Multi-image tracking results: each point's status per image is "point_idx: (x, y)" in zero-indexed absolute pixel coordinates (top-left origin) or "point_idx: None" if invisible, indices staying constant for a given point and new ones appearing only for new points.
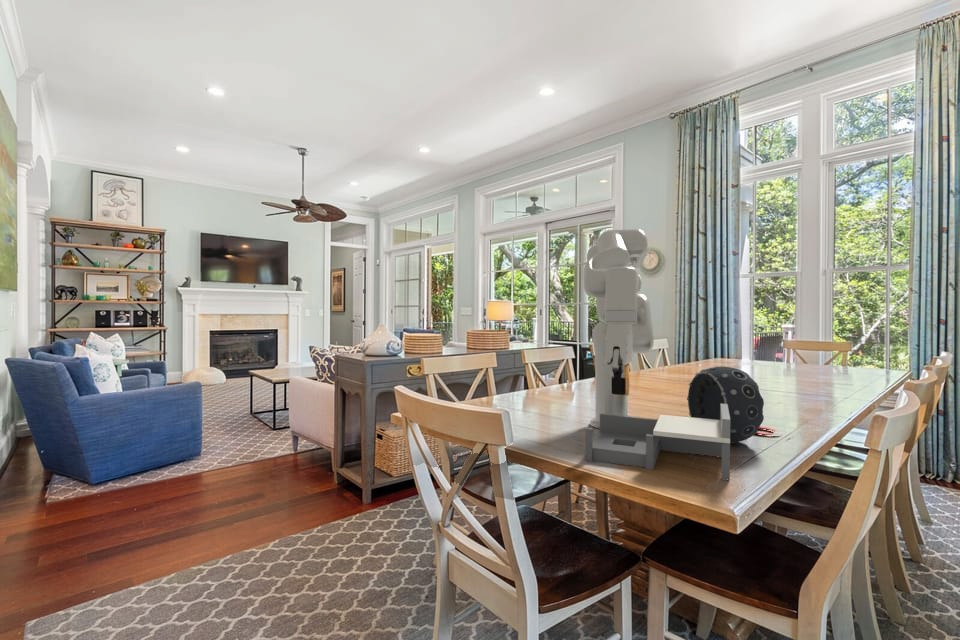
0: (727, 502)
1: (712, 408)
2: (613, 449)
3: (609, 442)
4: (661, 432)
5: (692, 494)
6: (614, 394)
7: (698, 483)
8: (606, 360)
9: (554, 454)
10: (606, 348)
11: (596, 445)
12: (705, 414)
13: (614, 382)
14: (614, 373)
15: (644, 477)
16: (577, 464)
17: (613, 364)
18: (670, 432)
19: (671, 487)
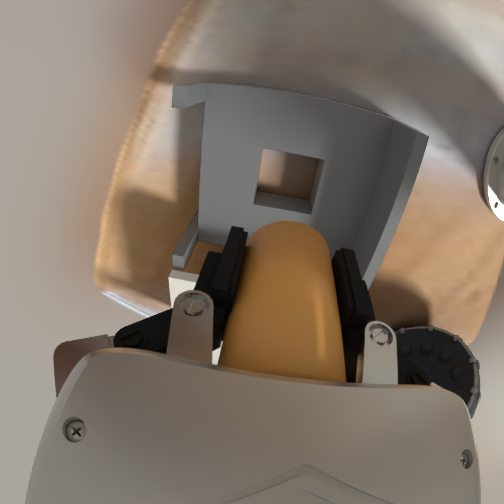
0: (120, 293)
1: (429, 376)
2: (209, 155)
3: (276, 142)
4: (170, 289)
5: (120, 264)
6: (254, 233)
7: (165, 279)
8: (72, 372)
9: (234, 2)
10: (30, 480)
11: (231, 108)
12: (436, 357)
13: (197, 280)
14: (140, 325)
15: (151, 207)
16: (172, 69)
17: (57, 366)
18: (171, 305)
19: (129, 243)
